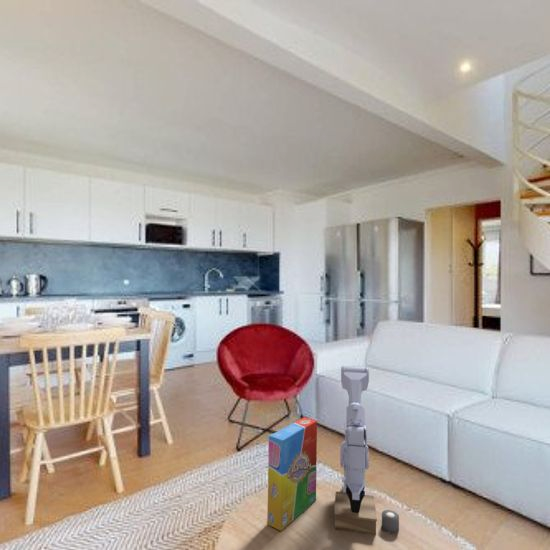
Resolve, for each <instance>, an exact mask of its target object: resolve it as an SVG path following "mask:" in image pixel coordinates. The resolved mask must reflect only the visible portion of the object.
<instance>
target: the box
mask: <svg viewBox="0 0 550 550" xmlns="http://www.w3.org/2000/svg"><path fill="white" fill-rule="evenodd" d="M334 529H335V530H339V531H345V532H353V533H360V534H369V535H377V521H369V520H362V519H354V518H346V517H339V516H334Z"/></svg>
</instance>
